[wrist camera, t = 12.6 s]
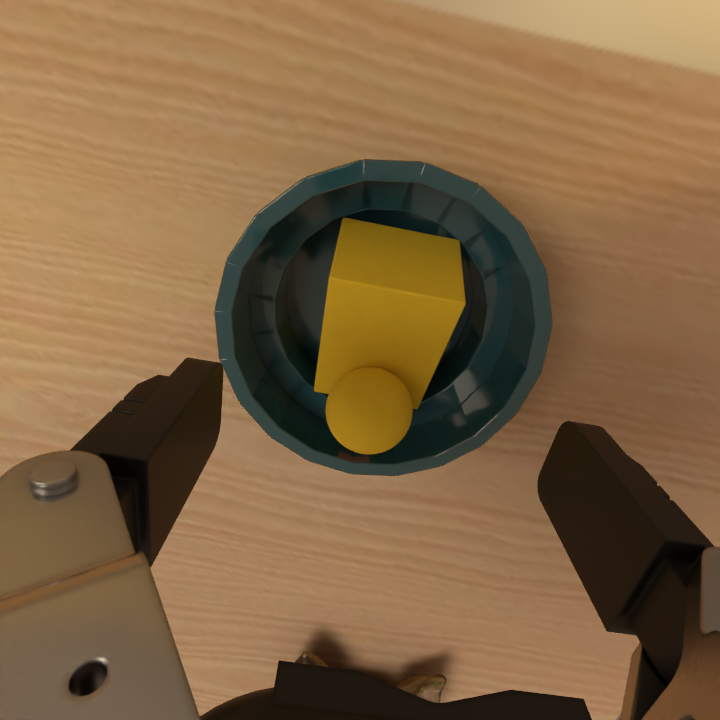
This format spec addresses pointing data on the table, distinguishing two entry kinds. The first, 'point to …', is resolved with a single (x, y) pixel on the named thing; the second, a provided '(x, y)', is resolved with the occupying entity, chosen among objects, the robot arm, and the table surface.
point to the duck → (385, 329)
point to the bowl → (308, 297)
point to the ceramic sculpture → (418, 685)
